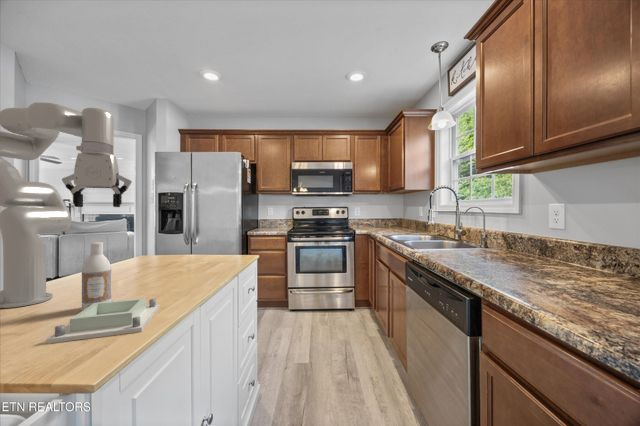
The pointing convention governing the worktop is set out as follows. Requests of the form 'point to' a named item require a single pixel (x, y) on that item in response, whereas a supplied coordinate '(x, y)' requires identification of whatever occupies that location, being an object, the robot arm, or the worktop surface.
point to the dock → (107, 320)
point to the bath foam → (96, 277)
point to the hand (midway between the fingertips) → (98, 206)
